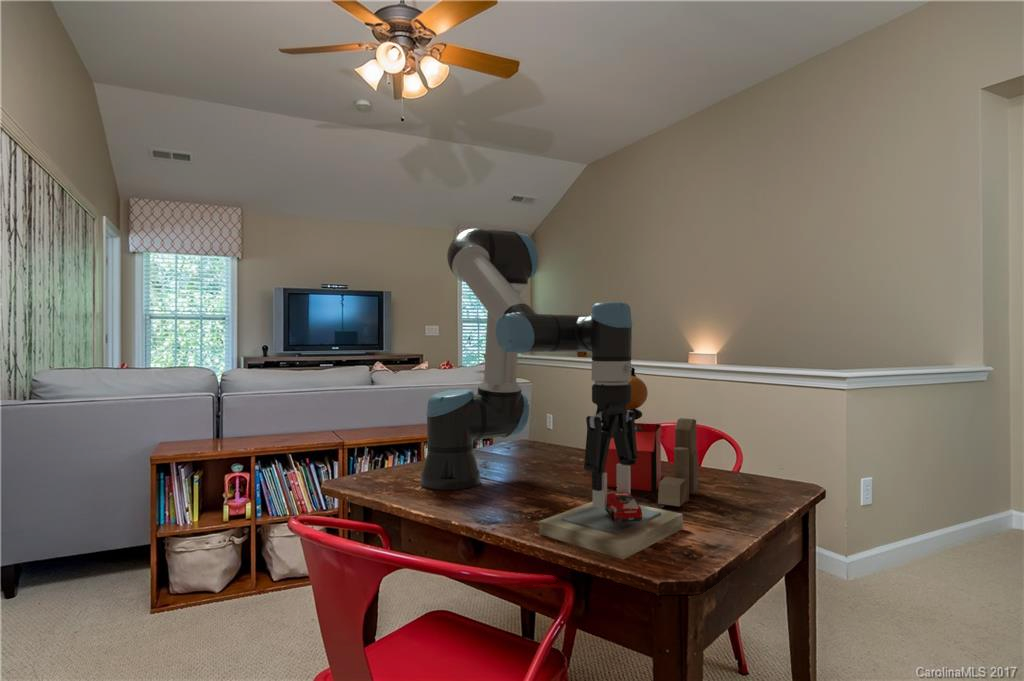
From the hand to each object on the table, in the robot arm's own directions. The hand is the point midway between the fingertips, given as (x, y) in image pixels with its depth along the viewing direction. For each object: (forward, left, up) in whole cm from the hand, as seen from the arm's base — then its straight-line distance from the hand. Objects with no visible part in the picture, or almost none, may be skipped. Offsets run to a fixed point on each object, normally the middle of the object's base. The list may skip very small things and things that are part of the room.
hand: (611, 502), depth 108 cm
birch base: (0, 0, -6) cm, 6 cm away
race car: (0, 0, -4) cm, 4 cm away
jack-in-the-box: (-18, +37, -6) cm, 42 cm away
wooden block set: (-1, +29, -6) cm, 30 cm away
